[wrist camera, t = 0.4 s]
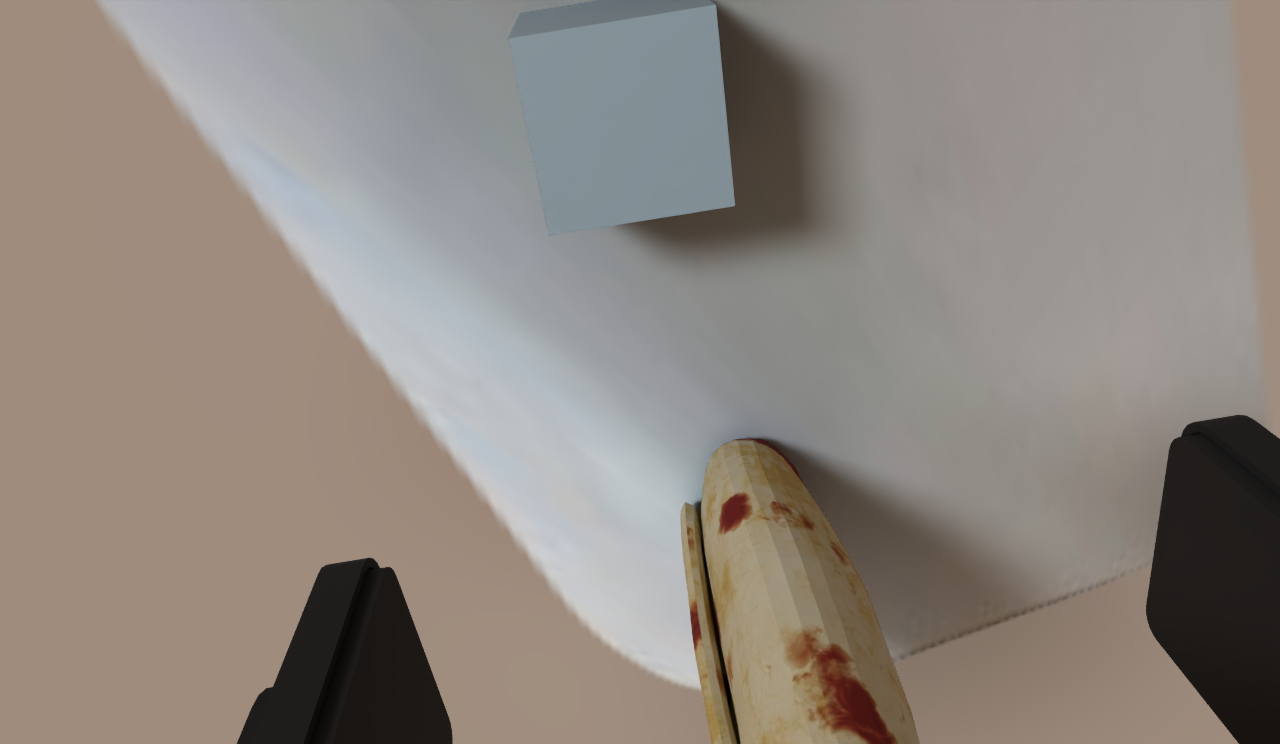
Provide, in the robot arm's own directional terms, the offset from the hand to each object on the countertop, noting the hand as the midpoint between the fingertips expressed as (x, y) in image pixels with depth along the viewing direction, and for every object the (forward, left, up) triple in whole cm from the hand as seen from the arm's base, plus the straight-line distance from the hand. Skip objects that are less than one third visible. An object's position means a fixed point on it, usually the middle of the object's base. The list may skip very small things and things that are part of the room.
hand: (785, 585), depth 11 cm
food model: (+18, +2, -25) cm, 31 cm away
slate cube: (-1, -1, -25) cm, 25 cm away
